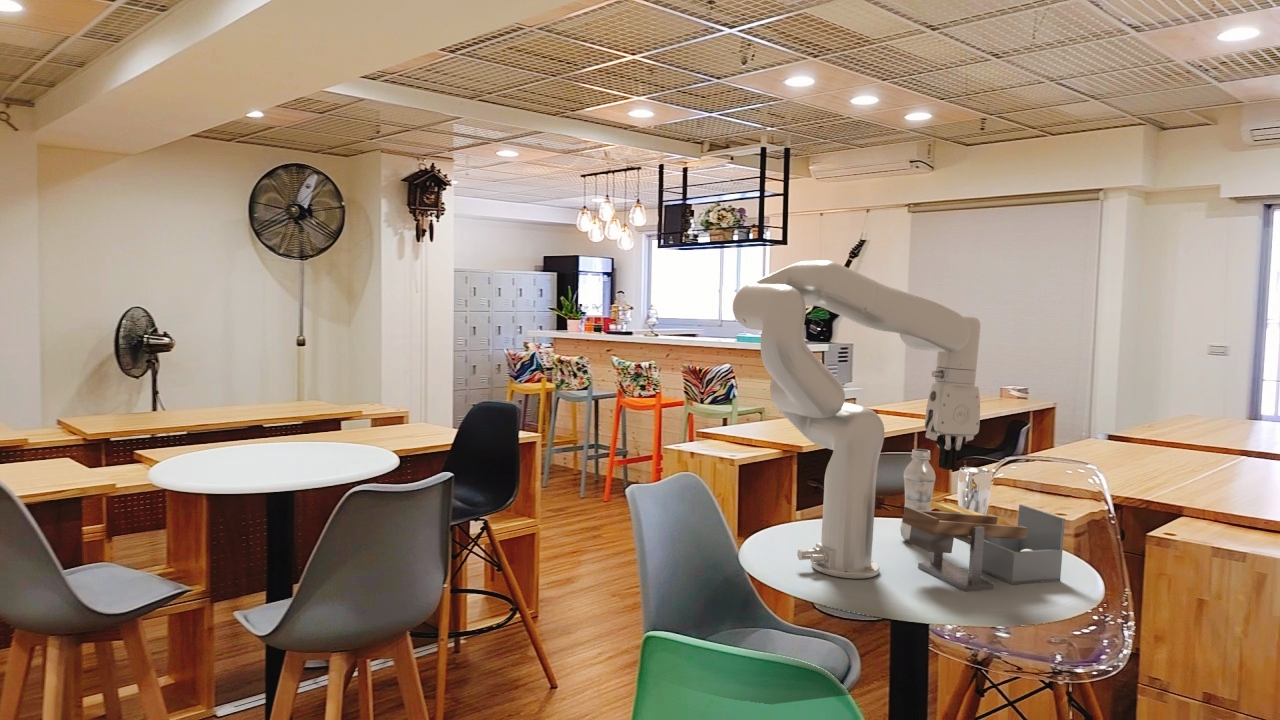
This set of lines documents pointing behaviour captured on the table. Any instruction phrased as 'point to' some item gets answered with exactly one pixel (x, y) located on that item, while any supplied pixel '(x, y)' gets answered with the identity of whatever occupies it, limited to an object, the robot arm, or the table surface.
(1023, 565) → the cup
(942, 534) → the lever chute
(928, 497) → the plastic bottle
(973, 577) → the pivot stand
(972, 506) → the beer glass
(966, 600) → the table surface
